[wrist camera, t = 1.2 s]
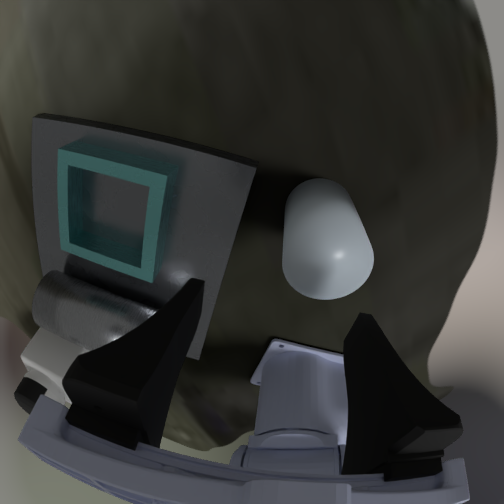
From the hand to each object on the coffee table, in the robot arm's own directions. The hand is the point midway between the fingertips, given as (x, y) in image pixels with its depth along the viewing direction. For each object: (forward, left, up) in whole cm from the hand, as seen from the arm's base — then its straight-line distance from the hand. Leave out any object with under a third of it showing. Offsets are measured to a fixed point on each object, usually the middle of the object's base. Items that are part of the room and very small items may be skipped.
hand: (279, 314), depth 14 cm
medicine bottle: (+20, +26, -10) cm, 34 cm away
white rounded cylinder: (-2, -1, -10) cm, 10 cm away
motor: (+12, +7, -10) cm, 17 cm away
